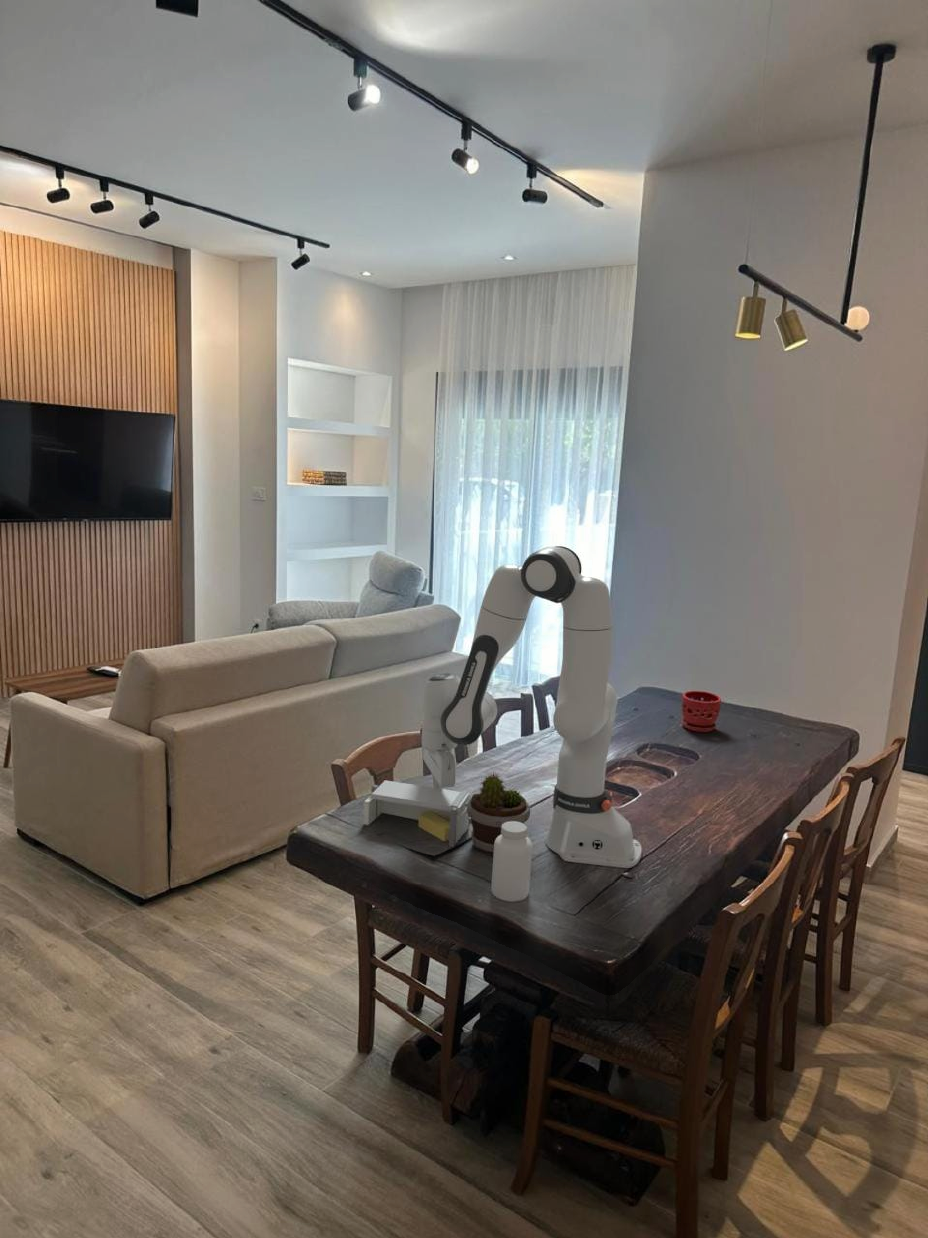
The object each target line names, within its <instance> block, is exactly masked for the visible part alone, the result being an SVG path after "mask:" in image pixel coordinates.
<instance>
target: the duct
mask: <svg viewBox="0 0 928 1238" xmlns="http://www.w3.org/2000/svg"><path fill="white" fill-rule="evenodd" d="M372 793H373V792H372V791H371V795H370V796H369V797H368V798H367V799H365V800H364V802H363V803H364V806H363V808H364V809H363V825H365V826H369V825H370V824H371V823H372V822H374V821H375V820H376V819H377V818H379V816H380V815H382V814H386V815H393V816H397V817H401V818H402V817H403V818H407V819H412V820H417V821H419V814H421V813H425V812H428V811H431V812H433V813H434V814H436V815H438V816H440V817H442V818H443V819H445V820H447V821H449V822H450V832H449V840H448V846H449V847H455V846H456V844H457V843H458V842H459V841H460V839H462V837H463V836H464V835H463V834H466V833H467V831H468V830H469V829H468V828H470V819H471V818H470V817H469V816H468V814H467V804H468V803H465V805H464V806H463V808H462V809H461V811H460V812H457V808H453V807H452V808H451V811H447V810H440V809H434V808H428V807H422V806H415V805H409V804H403V803H397V802H390V801H384V800H378V799H372ZM467 829H468V830H467ZM462 835H463V836H462ZM461 836H462V837H461ZM458 840H459V841H458Z"/></svg>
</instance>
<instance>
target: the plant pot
mask: <svg viewBox="0 0 928 1238" xmlns="http://www.w3.org/2000/svg"><path fill="white" fill-rule="evenodd" d="M721 707H722V698H721V696H719V695H717V694H715V693H712V692H708V691H704V690H687V691H685V692H683V693H682V697H681V713H682V717H683V719H682V720H681V724H682V725H683V727H685V729H688V730H690V731H694V732H698V733H699V732H700V733H708V732H709V733H710V732H713V730H715V729H716V728H717V723H716V721H717V719H718V718H719V714H720V712H721Z"/></svg>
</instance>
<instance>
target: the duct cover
mask: <svg viewBox="0 0 928 1238" xmlns="http://www.w3.org/2000/svg"><path fill="white" fill-rule="evenodd" d="M370 791H371V795H372V799H378V800H384V801H390V802H397V803H403V804H409V805H415V806H422V807H428V808H434V809H440V810H447V811H451V808H452V807H453V808H457V812H460V811H461V809H462V808H463V806H464V805H465V804H467V803H468V801H469V800H470V792H468V791H464V790H461V791H457V790H451V789H446V788H442V789H439V788H433V786H431V787H430V786H425V785H417V784H411V783H406V782H401V781H400V782H399V781H391V780H383V782H382V783H380V785H378V784H373V785H371V788H370ZM372 792H373V793H372Z"/></svg>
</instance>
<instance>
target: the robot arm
mask: <svg viewBox="0 0 928 1238" xmlns="http://www.w3.org/2000/svg"><path fill="white" fill-rule="evenodd" d="M536 597H537V598H540V599H544V600H547V601H549V602H553V603H555V604H560V605H561V607H562V617H563V619H562V660H561V670H560V674H559V682H558V687H557V695H556V696H557V697H556V705H555V708H554V712H553V718H552V722H553V727H554V729H555V731H556V733H557V734H558V735H559V736H560V737H561V738H562V743H561V746H560V751H559V752H558V761H557V762H558V763H557V774H556V775H557V776H556V784H555V786H554V789H553V794H552V795H553V797H552V805H553V806H552V808H553V813H552V818H551V822H550V826H549V829H548V832H547V835H546V837H545V840H544V841H545V845H546V846H547V848H548V849H550V850H551V851H553V852H554V853H556V854H558V855H559V857H560V858H561V859H562V860H563V861H564V862H570V863H578V864H586V865H587V864H588V865H597V866H605V867H612V868H613V867H614V868H621V869H622V868H623V869H630V868H633V867H635V866H636V865H638V863H639V862H640V861H641V858H642V854H643V851H642V850H643V849H642V848H643V847H642V845H641V843H640V842H639V841H638V840H637V839H636V838H635V839H634V836H633V829H632V825H631V824H630V821H628V820H627V819H626V818H625V817H624V816H623V815H622V814H620V813H619V812H618V811H617V810H615V809H614V807H613V806H612V804H613V792H612V791H610V793H609V792H608V791H607V790H606V789H605V782H606V781H605V780H606V771H607V760H608V754H609V749H610V745H611V744H610V743H611V740H612V735H613V729H614V723H615V719H616V718H615V717H616V711H617V706H618V695H617V692H616V690H615V688H614V687H613V686H612V685H611V684H610V683H609V682H608V681H609V675H610V670H611V669H610V668H611V666H612V665H611V664H612V662H613V660H612V656H613V655H612V653H613V652H612V651H613V611H612V602H611V596H610V590H609V588H608V585H607V584H606V583H605V582H604V581H602V580H600V579H599V578H596V577H588V576H583V575H582V561H581V559H580V558H579V556H578V554H577V553H576V552H575V551H573V550H572V549H570V548H569V547H566V546H561V545H560V546H559V545H557V546H547V547H543V548H541V549H539V550H536V551H534V552H532V553H531V554H530V555H528V557H527V558H526V559H525V560H524V562H523V565H522V566H521V565H517V564H503V565H501V566H499V567H498V568H496V569H495V571H494V573H493V575H492V577H491V579H490V581H489V584H488V585H487V588H486V591H485V593H484V596H483V599H482V602H481V605H480V609H479V613H478V617H477V620H476V621H477V622H476V626H475V631H474V635H473V639H472V642H471V643H472V644H471V647H470V652H469V655H468V658H467V661H466V662H465V663H466V664H465V666H464V668H463V672H462V675H461V677H459V676H458V675H456V674H455V673H448V672H447V673H440V674H436V675H433V676H432V677H430V678H429V679H427V681H426V684H425V688H424V693H423V694H424V695H423V702H422V704H423V706H422V707H423V709H422V711H423V714H424V715H423V716H424V717H423V721H422V724H421V725H422V726H420V728H419V735H420V736H421V753H422V758H423V761H424V763H425V765H426V766H427V768H428V769H429V771H430V773H431V777H432V778H431V779H432V788H439V789H446V788H447V789H448V788H453V787H455V784H456V758H455V755H454V754H453V749H455V748H457V746H458V745H460V746H468V745H472V744H474V743H475V742H476V741H477V740H478V739H479V738H480V736H482V734H483V733H484V732H485V731H486V730H487V729H488V728H489V727H490V726H491V725H492V723H493V722H494V721H495V720H496V719H497V716H498V712H499V710H498V703H497V701H496V699H495V698H494V696H492V695H491V694H490V693H489V692H487V689H488V687H489V684H490V680H491V677H492V675H493V673H494V671H495V669H496V667H497V666H498V664H499V663H500V661H502V659H503V658H504V657H505V656H506V655H507V654H508V652H510V650H512V648H513V647H514V646H515V645H516V644H517V642H518V640H519V639H520V636H521V634H522V632H523V630H524V627H525V625H526V622H527V618H528V615H529V612H530V608H531V604H532V603H533V600H534V599H535V598H536Z"/></svg>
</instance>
